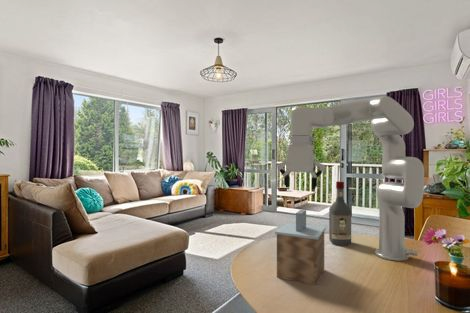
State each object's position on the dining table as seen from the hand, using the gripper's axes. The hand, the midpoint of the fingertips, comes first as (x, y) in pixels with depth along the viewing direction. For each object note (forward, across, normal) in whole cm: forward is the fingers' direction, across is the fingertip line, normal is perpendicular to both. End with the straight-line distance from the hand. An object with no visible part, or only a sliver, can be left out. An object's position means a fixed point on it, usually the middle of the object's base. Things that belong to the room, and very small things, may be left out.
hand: (300, 187), depth 104 cm
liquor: (+31, -8, -45) cm, 55 cm away
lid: (+17, 0, 0) cm, 17 cm away
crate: (+32, 0, -1) cm, 32 cm away
